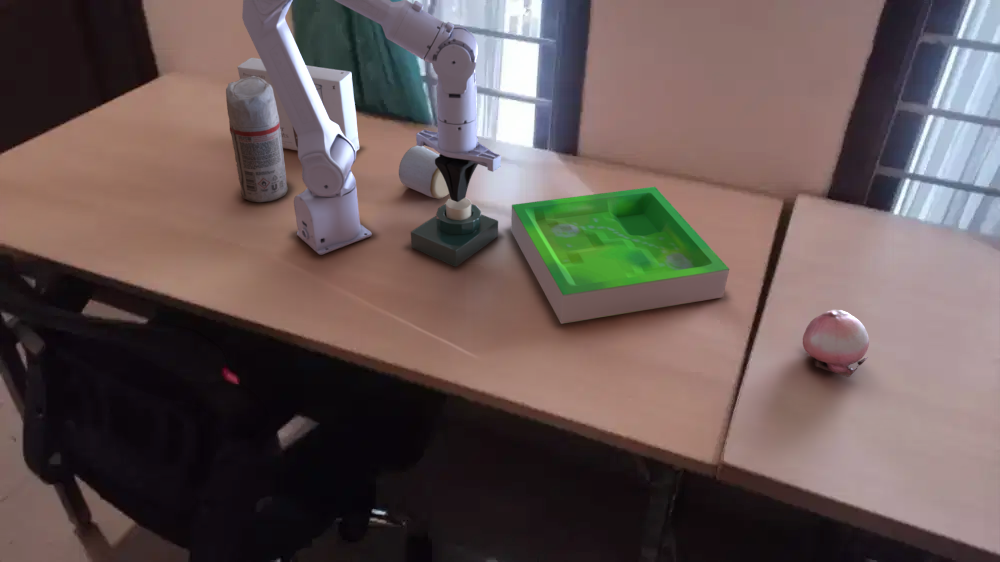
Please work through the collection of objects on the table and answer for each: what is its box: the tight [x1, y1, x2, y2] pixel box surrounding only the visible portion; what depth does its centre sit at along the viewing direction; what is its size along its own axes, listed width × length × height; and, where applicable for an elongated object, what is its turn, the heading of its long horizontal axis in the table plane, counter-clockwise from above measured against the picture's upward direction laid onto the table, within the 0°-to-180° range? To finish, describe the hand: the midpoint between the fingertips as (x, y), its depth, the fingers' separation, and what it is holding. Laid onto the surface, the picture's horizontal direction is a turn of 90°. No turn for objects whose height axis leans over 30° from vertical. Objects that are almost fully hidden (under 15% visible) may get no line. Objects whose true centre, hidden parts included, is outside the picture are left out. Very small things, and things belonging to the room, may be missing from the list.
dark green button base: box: [410, 203, 499, 268], centre depth 122 cm, size 11×9×5 cm
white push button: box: [445, 197, 472, 220], centre depth 121 cm, size 4×4×2 cm
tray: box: [510, 186, 730, 325], centre depth 118 cm, size 25×25×5 cm
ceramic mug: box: [398, 144, 450, 200], centre depth 136 cm, size 11×8×8 cm
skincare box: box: [237, 57, 360, 152], centre depth 146 cm, size 21×5×16 cm, turn 73°
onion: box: [802, 309, 870, 378], centre depth 99 cm, size 8×8×7 cm
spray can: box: [225, 76, 289, 203], centre depth 130 cm, size 8×8×20 cm
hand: (458, 198), depth 120 cm, fingers closed
